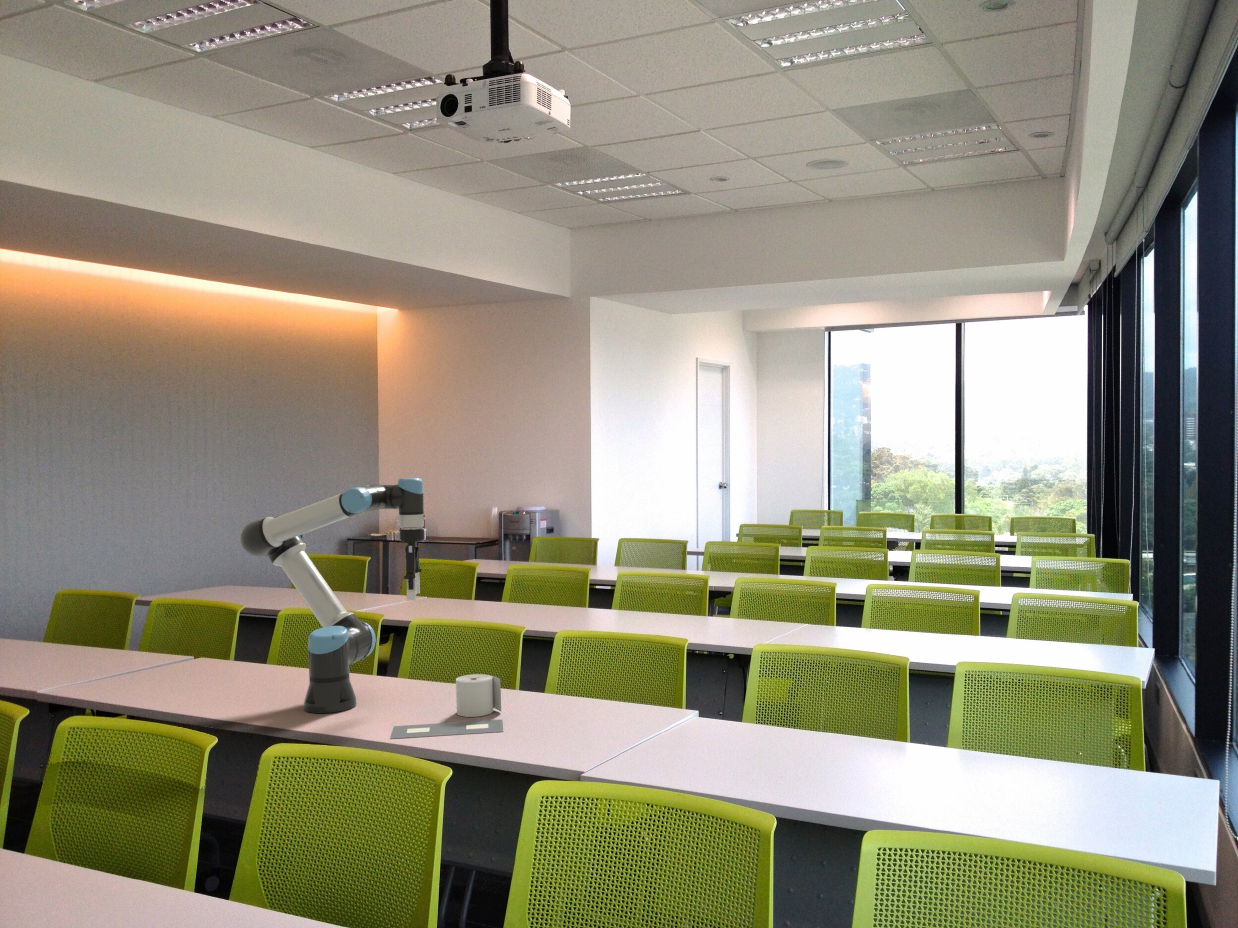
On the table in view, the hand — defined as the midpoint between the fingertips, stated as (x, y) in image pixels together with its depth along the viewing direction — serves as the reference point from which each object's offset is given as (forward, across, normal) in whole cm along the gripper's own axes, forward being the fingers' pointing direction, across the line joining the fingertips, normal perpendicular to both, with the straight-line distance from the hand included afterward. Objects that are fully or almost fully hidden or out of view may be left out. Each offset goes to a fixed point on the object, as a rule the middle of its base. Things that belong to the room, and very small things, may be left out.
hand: (413, 596), depth 309 cm
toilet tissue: (+32, -20, -19) cm, 42 cm away
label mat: (+31, -36, -12) cm, 49 cm away
